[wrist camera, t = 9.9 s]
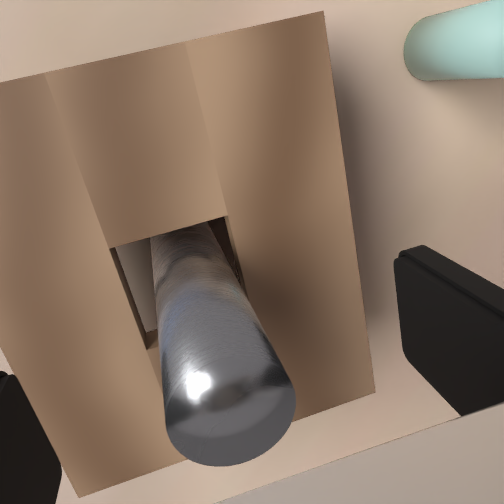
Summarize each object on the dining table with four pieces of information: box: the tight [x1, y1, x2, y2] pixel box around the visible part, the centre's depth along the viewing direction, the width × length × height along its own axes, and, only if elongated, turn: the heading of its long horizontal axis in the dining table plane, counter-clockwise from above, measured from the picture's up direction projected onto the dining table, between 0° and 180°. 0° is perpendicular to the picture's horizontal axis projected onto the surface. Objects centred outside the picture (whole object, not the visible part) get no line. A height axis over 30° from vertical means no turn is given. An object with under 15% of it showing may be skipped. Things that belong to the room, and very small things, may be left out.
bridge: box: [0, 11, 375, 498], centre depth 17 cm, size 12×14×6 cm
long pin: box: [150, 221, 296, 466], centre depth 14 cm, size 3×3×12 cm
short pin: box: [404, 0, 504, 81], centre depth 17 cm, size 3×3×5 cm
